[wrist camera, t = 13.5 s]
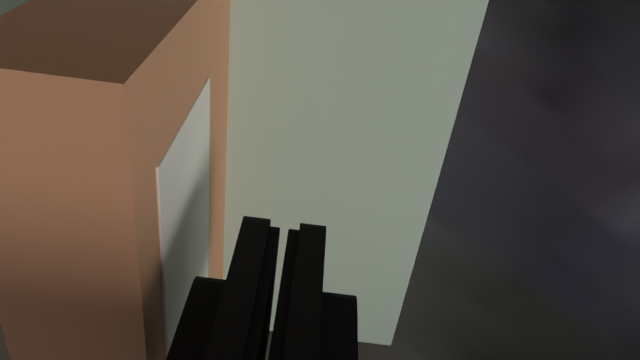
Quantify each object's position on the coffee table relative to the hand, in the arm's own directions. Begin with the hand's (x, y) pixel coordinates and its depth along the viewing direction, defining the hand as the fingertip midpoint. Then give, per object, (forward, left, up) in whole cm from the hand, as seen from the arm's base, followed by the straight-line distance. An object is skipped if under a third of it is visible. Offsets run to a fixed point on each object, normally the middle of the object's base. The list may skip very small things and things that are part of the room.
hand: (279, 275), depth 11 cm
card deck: (+3, 0, -5) cm, 6 cm away
